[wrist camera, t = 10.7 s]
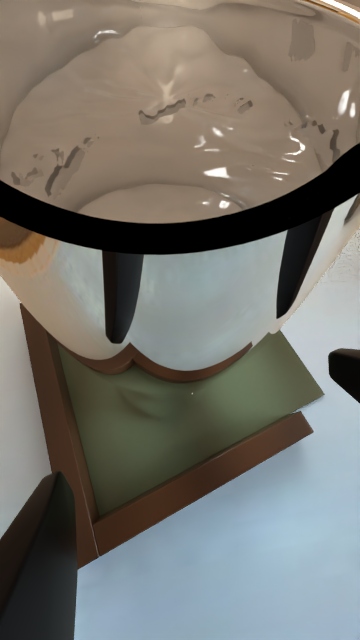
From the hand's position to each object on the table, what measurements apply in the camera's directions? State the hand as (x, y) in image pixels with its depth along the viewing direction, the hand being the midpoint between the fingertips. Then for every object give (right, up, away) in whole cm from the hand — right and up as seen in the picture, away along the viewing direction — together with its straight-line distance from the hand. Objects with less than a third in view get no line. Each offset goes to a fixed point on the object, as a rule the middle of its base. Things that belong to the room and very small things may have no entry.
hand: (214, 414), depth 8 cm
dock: (-2, 0, +9) cm, 9 cm away
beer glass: (-2, 0, +9) cm, 9 cm away
